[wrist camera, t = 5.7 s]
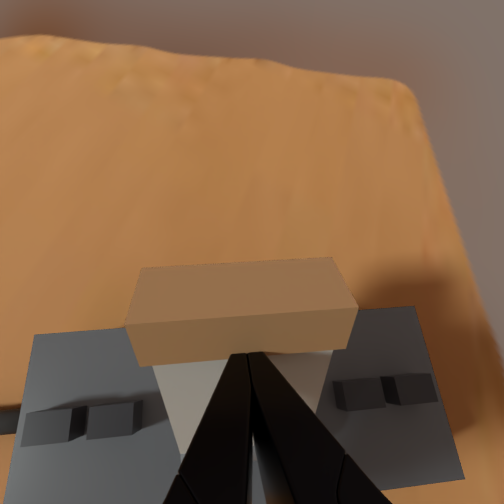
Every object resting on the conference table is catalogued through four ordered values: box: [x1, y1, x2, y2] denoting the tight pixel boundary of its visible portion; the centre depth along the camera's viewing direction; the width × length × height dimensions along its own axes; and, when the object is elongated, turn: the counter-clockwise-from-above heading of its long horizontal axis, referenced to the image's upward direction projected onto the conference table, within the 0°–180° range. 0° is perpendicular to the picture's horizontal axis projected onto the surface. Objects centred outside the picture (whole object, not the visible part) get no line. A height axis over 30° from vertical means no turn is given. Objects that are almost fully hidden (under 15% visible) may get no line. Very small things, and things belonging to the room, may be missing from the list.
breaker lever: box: [124, 257, 359, 463], centre depth 10 cm, size 2×5×9 cm
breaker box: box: [0, 306, 465, 504], centre depth 15 cm, size 8×28×5 cm, turn 95°
